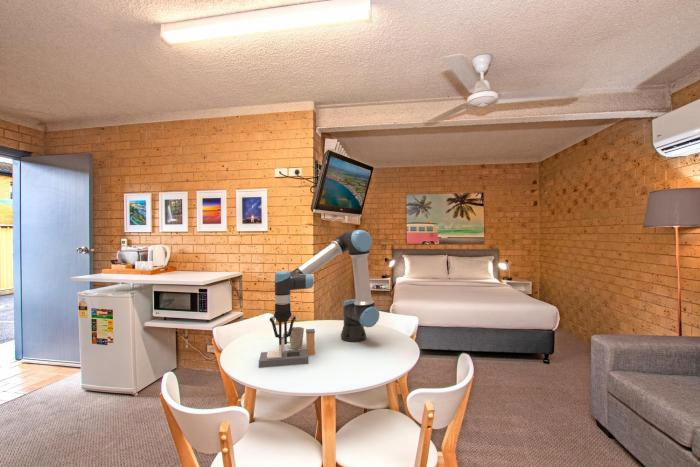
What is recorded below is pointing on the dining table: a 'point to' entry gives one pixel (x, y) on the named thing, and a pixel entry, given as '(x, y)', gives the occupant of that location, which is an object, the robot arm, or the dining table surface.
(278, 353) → the panel
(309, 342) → the plug
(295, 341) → the mug
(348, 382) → the dining table surface
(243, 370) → the dining table surface
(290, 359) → the socket
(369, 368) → the dining table surface
